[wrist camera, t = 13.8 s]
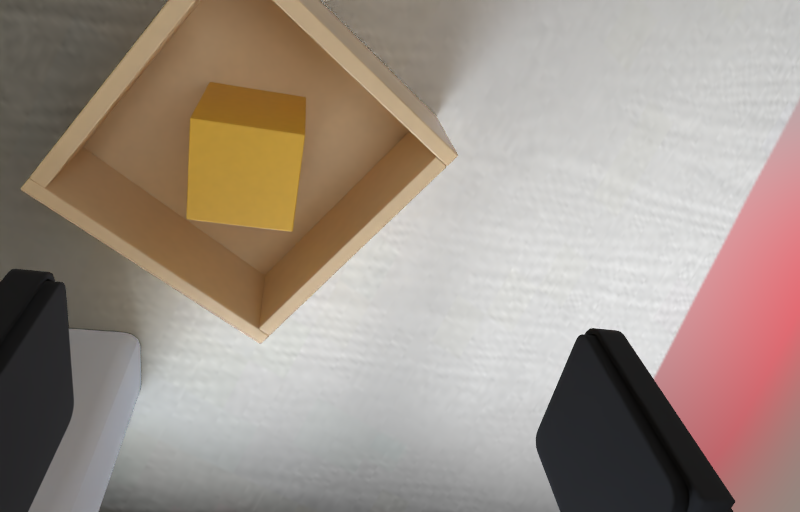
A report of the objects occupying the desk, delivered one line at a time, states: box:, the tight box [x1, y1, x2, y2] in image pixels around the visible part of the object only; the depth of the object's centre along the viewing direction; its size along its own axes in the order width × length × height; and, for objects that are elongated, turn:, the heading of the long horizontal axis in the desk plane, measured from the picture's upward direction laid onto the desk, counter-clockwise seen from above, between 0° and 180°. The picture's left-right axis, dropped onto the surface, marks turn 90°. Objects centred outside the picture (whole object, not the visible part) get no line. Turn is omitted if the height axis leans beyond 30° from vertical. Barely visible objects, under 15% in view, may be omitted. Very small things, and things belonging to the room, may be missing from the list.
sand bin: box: [21, 0, 458, 344], centre depth 29 cm, size 13×12×6 cm
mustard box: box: [186, 82, 306, 232], centre depth 28 cm, size 4×4×6 cm
